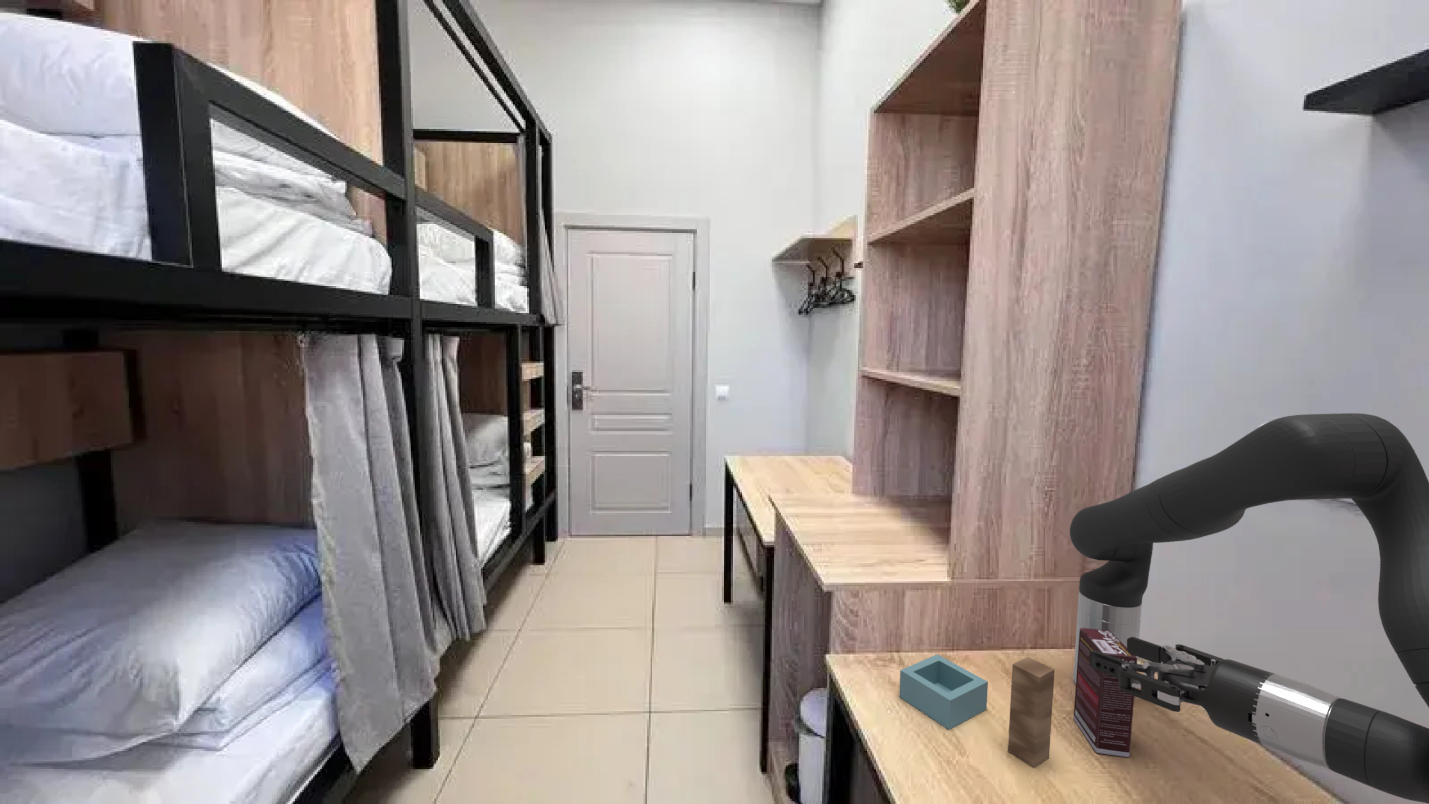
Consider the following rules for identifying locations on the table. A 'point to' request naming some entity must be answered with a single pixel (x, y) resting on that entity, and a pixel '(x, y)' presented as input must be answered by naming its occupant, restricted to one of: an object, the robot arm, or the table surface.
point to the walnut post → (1031, 711)
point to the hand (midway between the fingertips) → (1110, 651)
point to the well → (943, 691)
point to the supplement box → (1103, 696)
